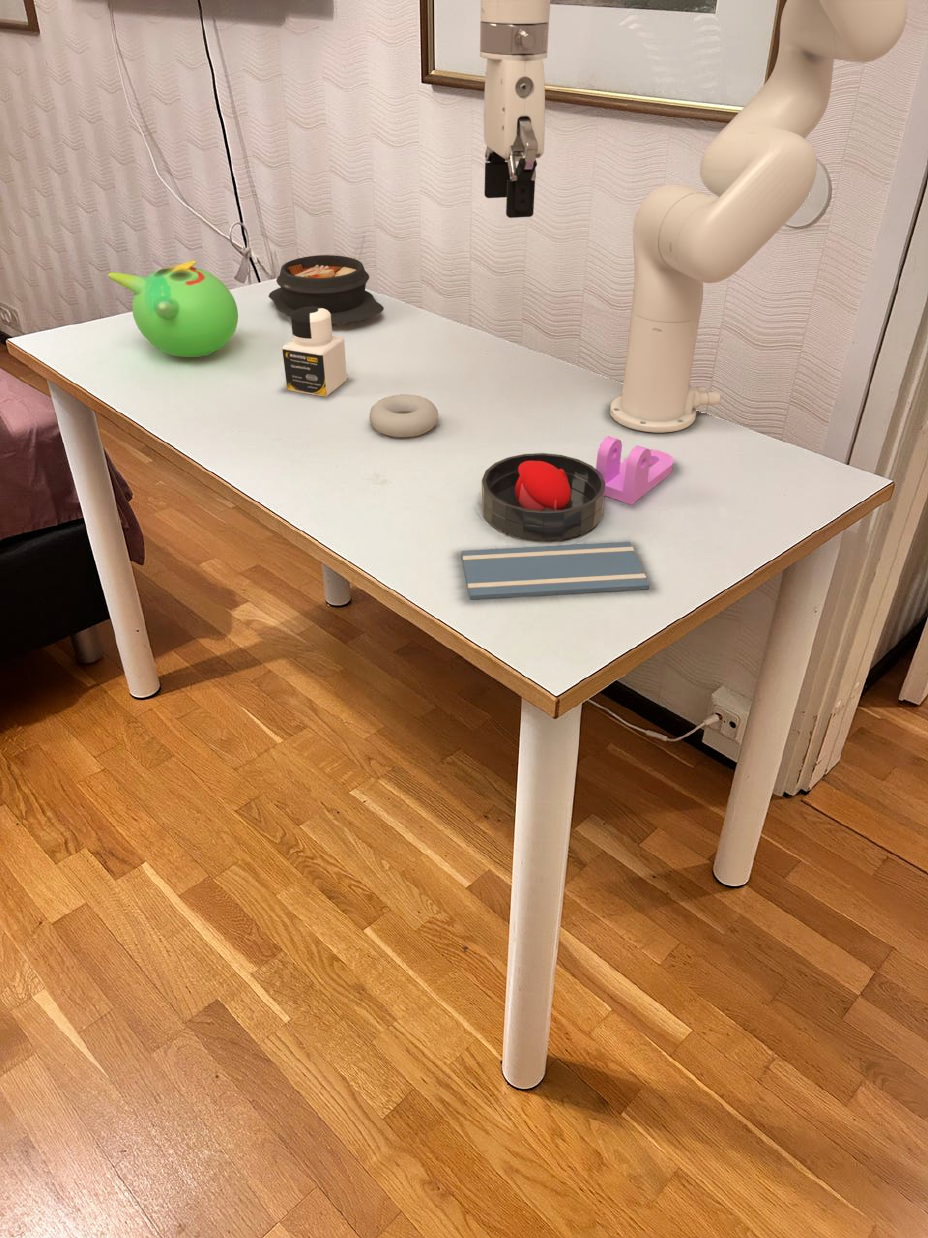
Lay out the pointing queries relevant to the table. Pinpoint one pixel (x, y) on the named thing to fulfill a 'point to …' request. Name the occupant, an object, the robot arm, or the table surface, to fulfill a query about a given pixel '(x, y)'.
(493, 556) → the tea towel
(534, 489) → the red rounded lobed piece
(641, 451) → the bracket
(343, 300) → the casserole
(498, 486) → the bowl
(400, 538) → the table surface
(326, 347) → the medicine bottle
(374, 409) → the donut
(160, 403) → the table surface
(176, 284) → the toy bird
